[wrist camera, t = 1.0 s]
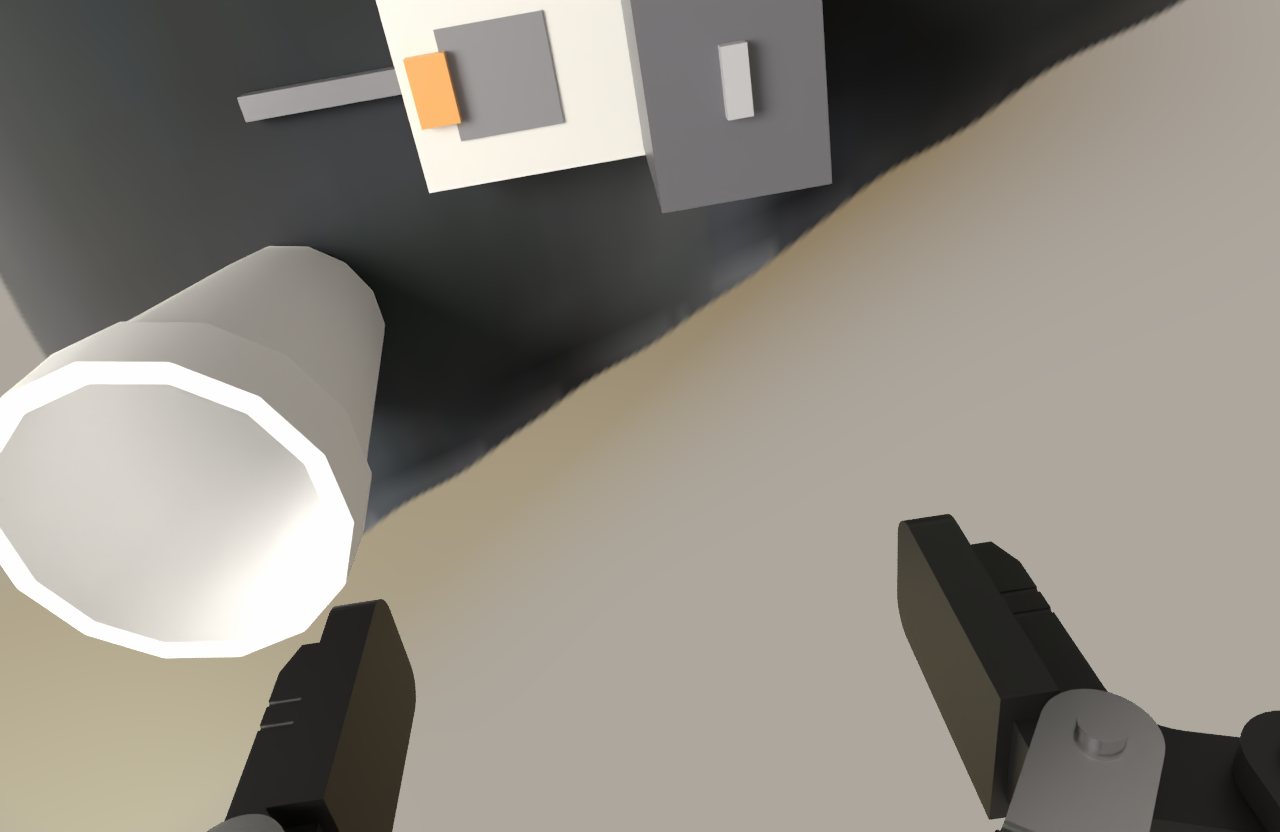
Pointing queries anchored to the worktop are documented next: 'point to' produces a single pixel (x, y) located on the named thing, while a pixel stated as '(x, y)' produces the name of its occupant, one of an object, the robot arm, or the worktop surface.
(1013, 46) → the worktop surface
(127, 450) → the foam cup
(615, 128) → the power strip
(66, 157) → the worktop surface
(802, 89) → the block
